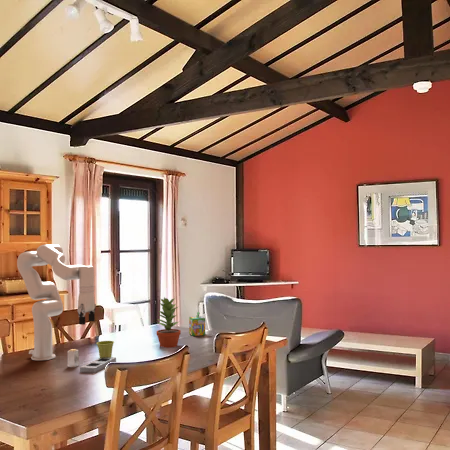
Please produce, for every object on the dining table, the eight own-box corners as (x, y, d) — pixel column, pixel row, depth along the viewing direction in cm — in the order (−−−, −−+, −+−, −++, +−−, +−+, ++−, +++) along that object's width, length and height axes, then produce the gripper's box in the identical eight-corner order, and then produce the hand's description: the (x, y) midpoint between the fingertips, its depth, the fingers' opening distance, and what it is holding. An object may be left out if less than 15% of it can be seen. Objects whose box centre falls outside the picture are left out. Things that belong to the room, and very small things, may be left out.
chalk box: (188, 334, 349) (188, 311, 349) (202, 333, 352) (201, 311, 352) (192, 336, 340) (191, 313, 340) (205, 335, 343) (205, 313, 343)
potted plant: (183, 343, 320) (182, 294, 320) (178, 348, 304) (177, 297, 305) (159, 343, 321) (158, 294, 322) (153, 348, 306) (152, 297, 306)
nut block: (67, 367, 266) (67, 350, 266) (71, 365, 269) (71, 348, 270) (74, 367, 264) (74, 350, 265) (78, 365, 268) (78, 349, 268)
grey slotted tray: (80, 372, 255) (79, 367, 255) (102, 361, 276) (102, 356, 276) (94, 373, 252) (94, 368, 252) (116, 362, 274) (115, 357, 274)
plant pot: (96, 361, 277) (96, 344, 277) (96, 357, 286) (96, 341, 286) (114, 359, 280) (114, 343, 280) (113, 355, 289) (113, 340, 289)
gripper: (88, 287, 279) (88, 319, 279) (71, 291, 262) (71, 325, 262) (101, 288, 277) (101, 320, 277) (85, 291, 260) (85, 326, 260)
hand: (87, 322), depth 269 cm, fingers open, 9 cm apart
